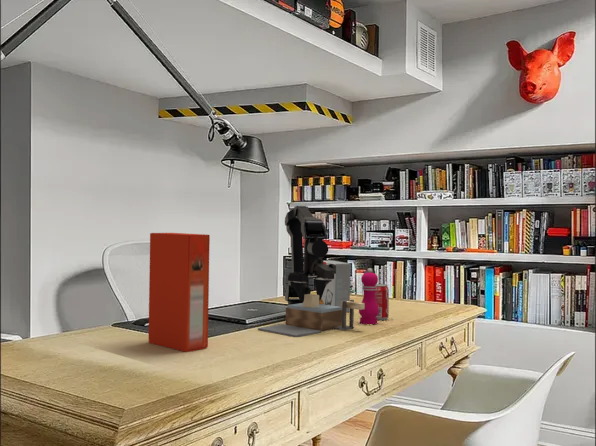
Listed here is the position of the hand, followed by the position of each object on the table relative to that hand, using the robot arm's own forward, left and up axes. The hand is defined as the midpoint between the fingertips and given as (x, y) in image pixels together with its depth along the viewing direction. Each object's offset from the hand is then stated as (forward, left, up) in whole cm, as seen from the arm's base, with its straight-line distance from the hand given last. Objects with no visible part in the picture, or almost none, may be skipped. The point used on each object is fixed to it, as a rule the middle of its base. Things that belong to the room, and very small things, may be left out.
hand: (310, 300), depth 214 cm
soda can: (+6, +33, -9) cm, 35 cm away
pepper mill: (+9, +22, -9) cm, 25 cm away
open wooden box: (+2, +2, -9) cm, 9 cm away
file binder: (-5, -53, -9) cm, 54 cm away
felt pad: (+1, -12, -9) cm, 15 cm away
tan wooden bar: (+14, +6, -2) cm, 15 cm away
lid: (0, +2, -3) cm, 3 cm away
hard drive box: (-20, +38, -9) cm, 44 cm away
